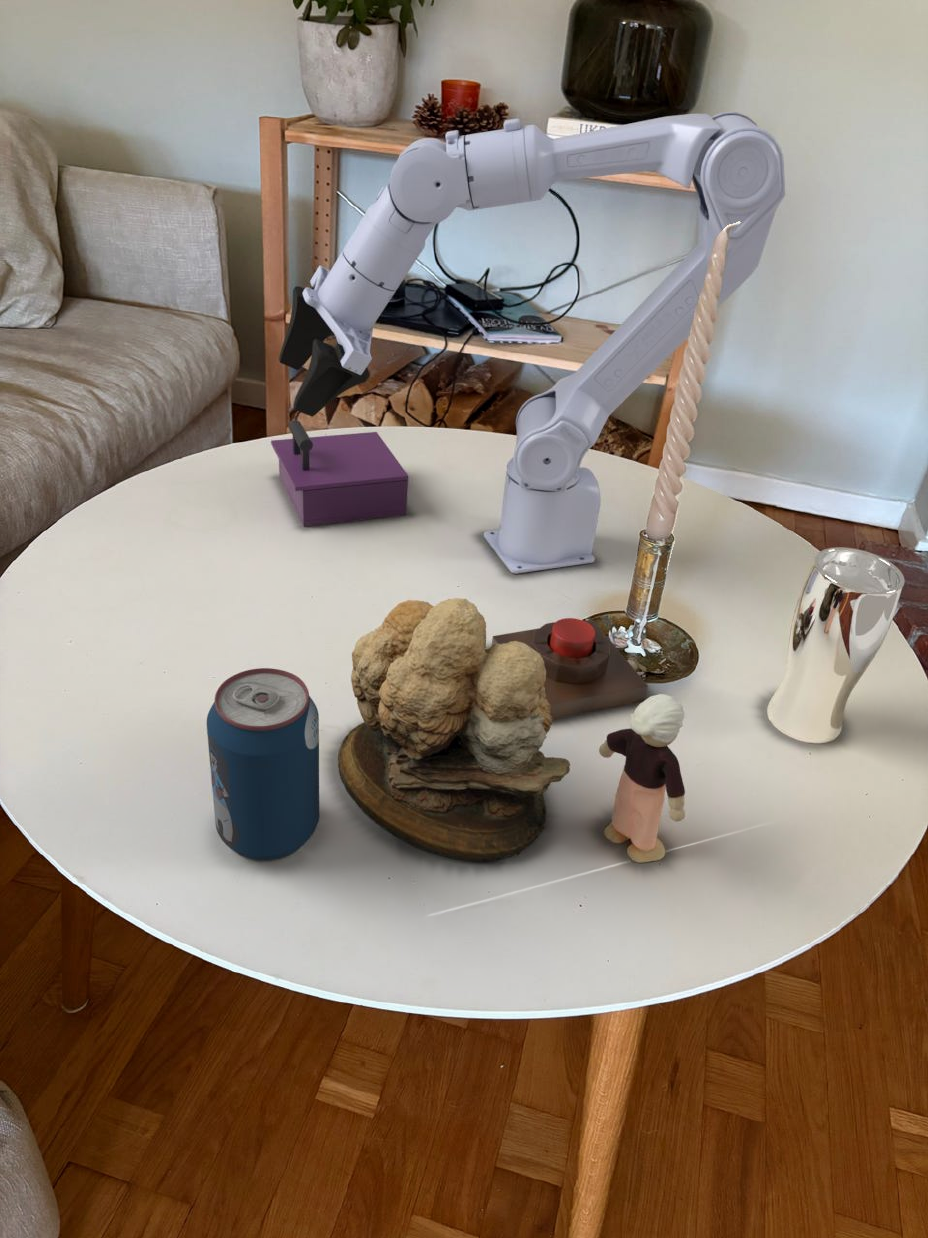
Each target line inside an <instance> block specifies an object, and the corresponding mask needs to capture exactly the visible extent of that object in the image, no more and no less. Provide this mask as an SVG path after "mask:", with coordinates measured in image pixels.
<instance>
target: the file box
mask: <svg viewBox="0 0 928 1238" xmlns="http://www.w3.org/2000/svg"><path fill="white" fill-rule="evenodd" d="M278 473H279V474H278V475H279V480H280V482H281V485H282V486H283V488H284V491H285V492H286V495H287V496H288V498H289V500H290V503H291V504H292V507H293V508H294V510H295V512H296V515H297V516H298V518H299V520H300V523H301V525H302V527H311V526H312V527H313V526H321V525H330V524H331V525H332V524H338V523H339V524H340V523H348V522H355V521H366V520H373V519H382V518H388V517H389V518H390V517H392V518H393V517H398V516H406V515H407V509H408V496H409V495H408V492H409V479H408V480H401V481H391V482H381V483H371V484H361V485H352V486H342V487H332V488H322V489H312V490H303V491H295V490H294V488H293V486H292V484H291V482H290V480H289V478H288V476H287V474H286V472H285V470H284V468H283V466H282V464H281V462H280V460H279V459H278Z"/></svg>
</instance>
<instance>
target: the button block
mask: <svg viewBox="0 0 928 1238" xmlns="http://www.w3.org/2000/svg"><path fill="white" fill-rule="evenodd" d="M584 621H585V622H587V623H588V624H590V625H591V626H592V627H593V628H594V631H595V638H594V643H593V648H592V652H591V653H590V654H589V655H588V656H587V657H583V658H578V659H575V658H569V657H563V656H561V655H559V654H558V653H556V652H554V651H553V650H552V648H551V646H550V640H551V634H552V628H553V625H554V624H555V622H556V621H555V622H554V621H553V622H548V623H547V622H546V623H545V624H543V625H542V626H540V627H539V628H532V629H526V630H521V631H515V632H509V633H503V634H502V633H501V634H497V635H492V639H491V646H492V645H493V644H495V643H498V644H503V643H508V642H510V641H512V642H513V641H518V642H521V643H524V644H526V645H528V646H529V647H531V648H532V649H534V650H535V651H536V652H537V653H539V654H540V655H541V657H542V658H543V661H544V666H545V669H546V680H545V683H544V687H545V695H546V697H545V699H547V700H548V703H549V704H550V705H551V707H550V716H551V717H553V719H552V720H555V719H561V718H565V717H566V718H567V717H570V716H576V715H580V714H585V713H590V712H595V711H600V710H605V709H609V708H615V707H619V706H624V705H629V704H634V703H638V702H644V701H645V700H646V695H647V691H648V688H649V685H648V684H647V683H646V681H645V680H644V678H642V677H641V675H639V673H638V671H636V669H635V668H634V667H633V666H632V665H631V664H630V662H629V661H628V660H627V658H626V657H625V656H624V655H623V654H622V653H621V652H620V650H619V649H618V648H617V647H616V645H615V644H614V643H613V642H612V641H611V640H610V639H609V637H608V636H607V635H606V634H605V632H604V631H603V630H602V629H601V628H600V626H599V625H598V623H596V622H595V621H594V619H587V620H584Z"/></svg>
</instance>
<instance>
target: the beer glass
mask: <svg viewBox="0 0 928 1238" xmlns="http://www.w3.org/2000/svg"><path fill="white" fill-rule="evenodd" d="M807 574H808V575H807V576H806V579H805V581H804V583H803V586H802V589H801V591H800V593H799V596H798V599H797V602H796V605H795V608H794V613H793V615H792V621H791V626H790V630H789V631H790V632H789V640H788V647H787V656H786V662H785V663H786V665H785V669H784V673H783V676H782V679H781V682H780V684H779V685H778V687H777V689H776V691H775V692H774V694H773V695H772V697H771V699H770V700H769V703H768V704H767V708H766V712H767V718H768V719H769V721H770V722H771V724H772V725H773V726H774V727H775V728H776V729H777V730H778V731H779V732H781V733H782V734H784V735H785V736H787V737H789V738H791V739H794V740H796V741H799V742H802V743H808V744H826V743H829V742H832V741H834V740H836V739H837V738H838V736H839V735H840V733H841V731H842V728H843V723H844V715H845V710H846V706H847V703H848V701H849V700H848V699H849V698H850V696H851V694H852V691H854V688H855V687H856V685H857V684H858V683H859V681H860V679H861V678H862V677H863V675H864V673H865V672H866V671H867V669H868V668H869V666H870V665H871V664H872V662H873V660H874V659H875V658H876V655H877V653H878V652H879V650H880V648H881V647H882V645H883V644H884V641H885V639H886V637H887V634H888V632H889V630H890V628H891V625H892V622H893V619H894V616H895V613H896V610H897V608H898V607H897V606H898V604H899V600H900V597H901V593H902V590H903V588H904V586H905V577H904V574H903V572H902V571H901V570H900V569H899V568H898V567H897V566H896V565H895V564H893V563H892V562H890V561H889V560H887V559H886V558H884V557H881V556H880V555H877V554H875V553H872V552H870V551H866V550H863V549H858V548H852V547H840V546H839V547H838V546H837V547H829V548H825V549H822V550H821V551H819V552H817V554H816V555H815V558H814V561H813V564H812V566H811V568H810V570H809V573H807Z"/></svg>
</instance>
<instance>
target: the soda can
mask: <svg viewBox="0 0 928 1238" xmlns="http://www.w3.org/2000/svg"><path fill="white" fill-rule="evenodd" d="M319 715H320V714H319V710H318V707H317V705H316V703H315V702H314V700H313V699H312V697H311V696H310V693H309V689H308V686H307V685H306V683H305V682H304V681H303V680H302V679H301V678H300V677H299V676H297V675H296V674H294V673H292V672H290V671H286V670H283V669H278V668H270V667H258V668H252V669H251V668H250V669H247V670H244V671H240V672H237V673H235V674H234V675H231V676H230V677H229V678H227V679H225V680H224V681H223V682H222V683H221V684H220V686H219V687H218V688H217V690H216V692H215V694H214V702H213V703H212V705H211V707H210V709H209V710H208V712H207V716H206V731H207V732H206V734H207V744H208V745H207V746H208V754H209V755H208V757H209V767H210V778H211V788H212V800H213V812H214V813H213V814H214V823H215V829H216V832H217V834H218V836H219V838H220V839H221V841H222V842H223V843H224V844H225V845H226V846H227V848H229V849H231V851H233V852H235V854H238V855H239V856H240V857H242V858H243V859H247V860H249V861H254V862H260V863H269V862H270V863H271V862H276V861H280V860H283V859H286V858H289V857H291V856H292V855H295V853H297V852H298V851H299V850H300V849H302V847H303V846H304V845H305V844H307V843H308V841H309V840H310V839H311V837H313V835H314V833H315V831H316V830H317V828H318V825H319V823H320V728H319V727H320V716H319Z"/></svg>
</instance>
